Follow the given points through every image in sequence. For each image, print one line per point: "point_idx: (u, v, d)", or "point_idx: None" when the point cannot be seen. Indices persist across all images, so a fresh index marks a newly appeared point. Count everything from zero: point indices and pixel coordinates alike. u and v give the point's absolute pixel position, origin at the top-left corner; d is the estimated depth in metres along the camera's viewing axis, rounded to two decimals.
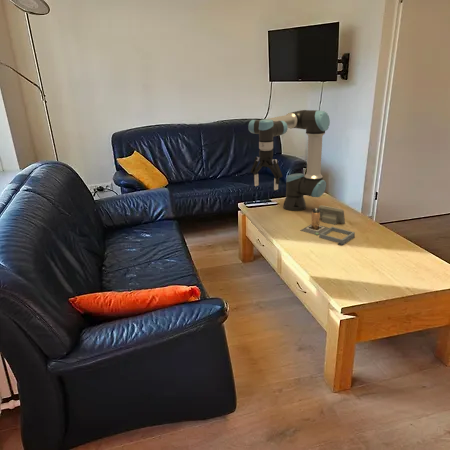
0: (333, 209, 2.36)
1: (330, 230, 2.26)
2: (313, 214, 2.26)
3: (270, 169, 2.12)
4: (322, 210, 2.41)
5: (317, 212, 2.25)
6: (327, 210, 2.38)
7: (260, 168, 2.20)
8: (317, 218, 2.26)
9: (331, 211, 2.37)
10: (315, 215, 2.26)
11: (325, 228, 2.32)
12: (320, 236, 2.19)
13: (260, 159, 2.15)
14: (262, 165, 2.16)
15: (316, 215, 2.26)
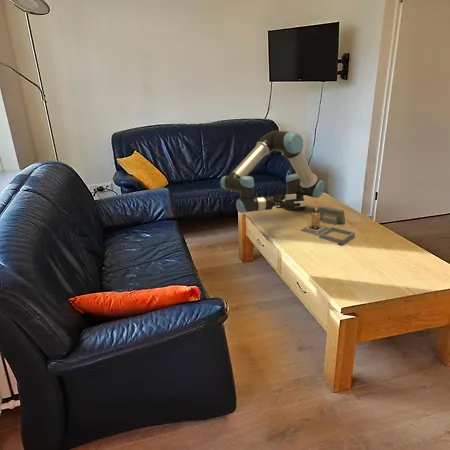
0: (333, 209, 2.36)
1: (330, 230, 2.26)
2: (313, 214, 2.26)
3: None
4: (322, 210, 2.41)
5: (317, 212, 2.25)
6: (327, 210, 2.38)
7: (280, 197, 2.25)
8: (317, 218, 2.26)
9: (331, 211, 2.37)
10: (315, 215, 2.26)
11: (325, 228, 2.32)
12: (320, 236, 2.19)
13: None
14: None
15: (316, 215, 2.26)
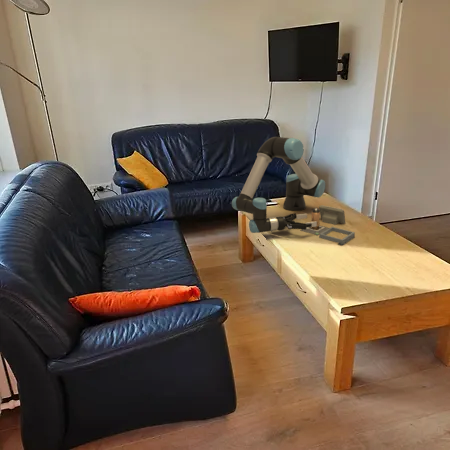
0: (333, 209, 2.36)
1: (330, 230, 2.26)
2: (313, 214, 2.26)
3: None
4: (322, 210, 2.41)
5: (317, 212, 2.25)
6: (327, 210, 2.39)
7: (292, 217, 2.30)
8: (317, 218, 2.26)
9: (331, 211, 2.37)
10: (315, 215, 2.26)
11: (325, 228, 2.32)
12: (320, 236, 2.19)
13: None
14: None
15: (316, 215, 2.26)
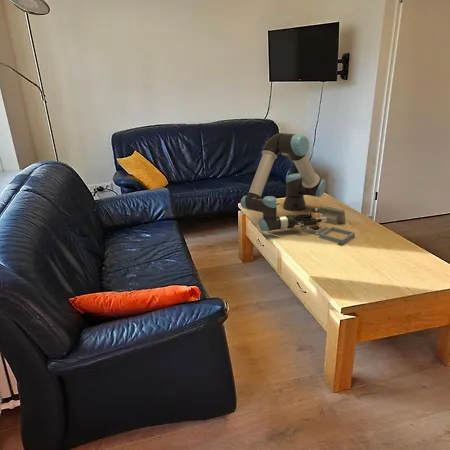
0: (334, 209, 2.36)
1: (330, 230, 2.26)
2: (313, 214, 2.26)
3: None
4: (323, 210, 2.41)
5: (317, 212, 2.25)
6: (328, 210, 2.39)
7: (304, 217, 2.29)
8: None
9: (332, 211, 2.37)
10: (315, 215, 2.26)
11: (325, 228, 2.32)
12: (320, 236, 2.19)
13: None
14: None
15: (316, 215, 2.26)
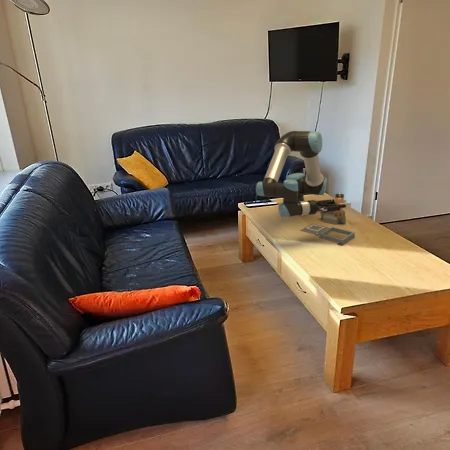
0: None
1: (330, 230, 2.26)
2: (336, 199, 2.11)
3: None
4: None
5: (341, 197, 2.10)
6: None
7: (327, 202, 2.14)
8: None
9: (332, 211, 2.37)
10: (339, 200, 2.10)
11: (325, 228, 2.32)
12: (320, 236, 2.19)
13: None
14: None
15: (340, 200, 2.10)
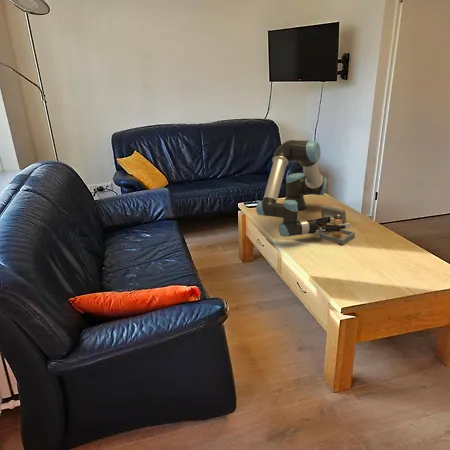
0: (334, 209, 2.36)
1: None
2: (335, 221, 2.16)
3: None
4: (324, 210, 2.41)
5: (339, 218, 2.14)
6: (328, 210, 2.39)
7: (324, 221, 2.19)
8: None
9: (332, 211, 2.37)
10: (337, 222, 2.15)
11: None
12: (320, 236, 2.19)
13: None
14: None
15: (338, 222, 2.15)
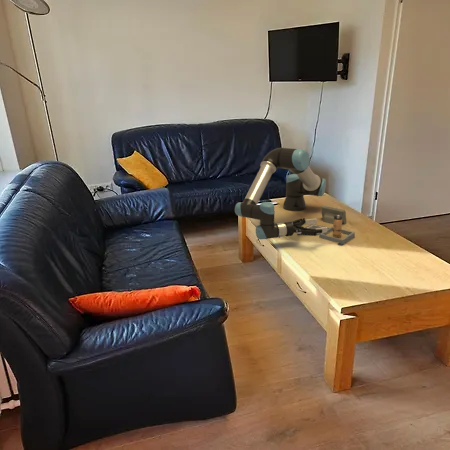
0: (335, 209, 2.36)
1: (330, 230, 2.26)
2: (335, 221, 2.15)
3: None
4: (324, 210, 2.41)
5: (339, 219, 2.14)
6: (329, 210, 2.39)
7: (301, 222, 2.18)
8: (339, 225, 2.15)
9: (333, 211, 2.37)
10: (337, 222, 2.15)
11: None
12: (320, 236, 2.19)
13: None
14: None
15: (338, 222, 2.15)
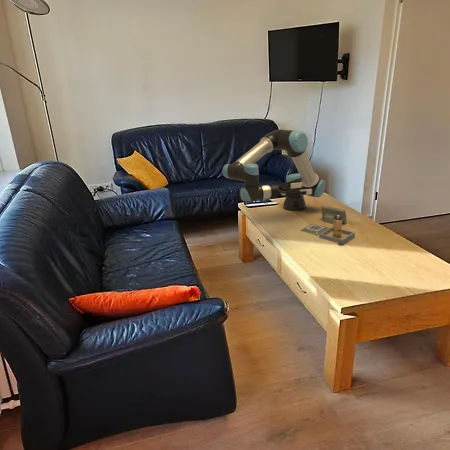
0: (335, 209, 2.36)
1: (330, 230, 2.26)
2: (335, 221, 2.15)
3: None
4: (324, 210, 2.41)
5: (339, 219, 2.14)
6: (329, 210, 2.39)
7: (286, 186, 2.18)
8: (339, 225, 2.15)
9: (333, 211, 2.37)
10: (337, 222, 2.15)
11: (325, 228, 2.32)
12: (320, 236, 2.19)
13: None
14: None
15: (338, 222, 2.15)
